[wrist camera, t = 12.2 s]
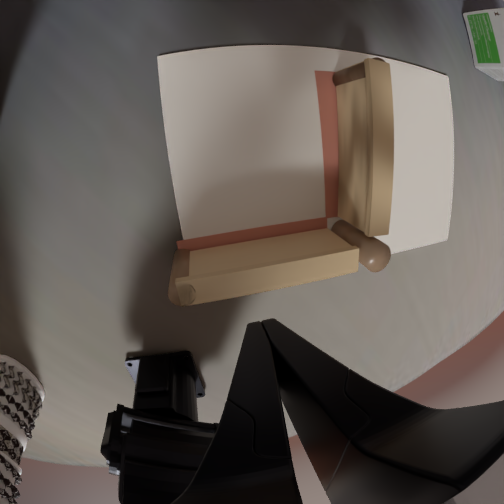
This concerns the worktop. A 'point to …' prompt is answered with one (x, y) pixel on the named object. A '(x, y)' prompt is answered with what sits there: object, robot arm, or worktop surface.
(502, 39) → the skincare box
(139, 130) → the worktop surface
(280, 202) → the fence post and layout card
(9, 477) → the decorative candle
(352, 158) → the folding fence panel
